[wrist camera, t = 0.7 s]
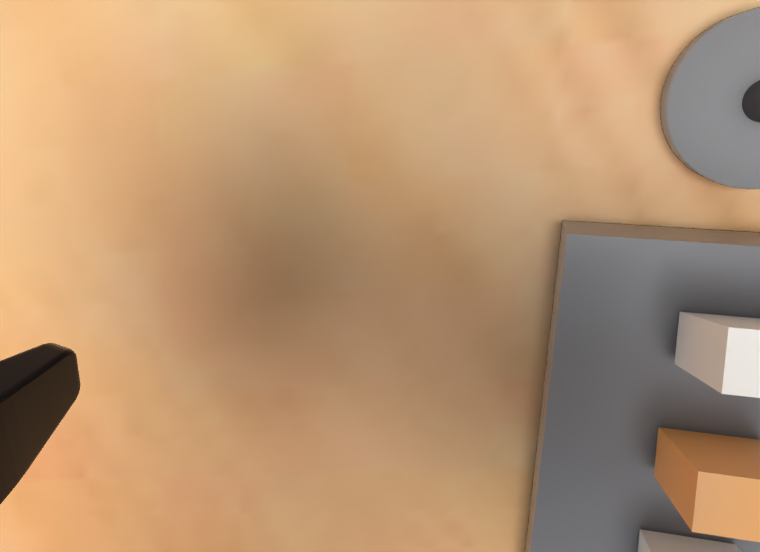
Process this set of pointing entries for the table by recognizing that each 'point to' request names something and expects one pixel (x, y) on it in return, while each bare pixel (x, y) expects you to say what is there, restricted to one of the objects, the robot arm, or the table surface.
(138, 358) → the table surface
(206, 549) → the table surface
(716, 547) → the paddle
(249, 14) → the table surface
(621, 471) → the panel
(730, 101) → the stand
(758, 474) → the orange rectangular block
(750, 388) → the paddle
